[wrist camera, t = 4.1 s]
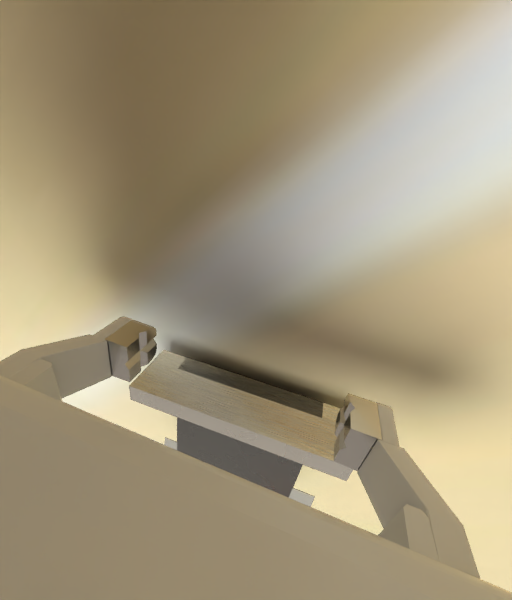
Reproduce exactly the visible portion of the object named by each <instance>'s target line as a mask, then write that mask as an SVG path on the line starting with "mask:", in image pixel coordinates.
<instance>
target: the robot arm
mask: <svg viewBox="0 0 512 600" xmlns="http://www.w3.org/2000/svg"><path fill="white" fill-rule="evenodd" d="M156 335H157V334H156V329H155V328H154V327H152V326H149V325H147V324H144V323H141V322H139V321H136V320H132V319H130V318H127V317H120V318H118V319H117V320H115V321H114V322H112V323H111V324H109V325H108V326H106V327H105V328H103V329H102V330H100V331H99V332H97V333H96V334H94V335H90V334H89V335H85V336H80V337H76V338H71V339H67V340H62V341H58V342H53V343H49V344H44V345H40V346H35V347H31V348H26V349H22V350H20V351H18V352H16V353H14V354H13V355H11V356H9V357H7V358H6V359H4V360H2V361H0V600H512V592H509V591H507V590H505V589H502V588H500V587H498V586H495V585H493V584H491V583H488V582H486V581H483V580H481V579H480V576H479V573H478V570H477V567H476V564H475V561H474V558H473V554H472V551H471V548H470V545H469V542H468V539H467V536H466V533H465V530H464V527H463V525H462V523H461V522H460V521H459V519H458V518H457V517H456V516H455V514H454V513H453V512H452V510H451V509H450V508H449V506H448V505H447V504H446V503H445V501H444V500H443V499H442V497H441V496H440V495H439V493H438V492H437V491H436V490H435V488H434V487H433V486H432V484H431V483H430V482H429V480H428V479H427V478H426V477H425V475H424V474H423V473H422V471H421V470H420V469H419V467H418V466H417V465H416V464H415V462H414V461H413V460H412V458H411V457H410V456H409V454H408V453H407V452H406V451H405V449H404V448H401V447H399V441H398V436H397V431H396V426H395V421H394V416H393V411H392V408H391V407H389V406H386V405H383V404H380V403H377V402H376V403H375V402H373V401H370V400H367V399H364V398H361V397H358V396H355V395H352V394H349V393H348V395H347V396H346V398H345V400H344V407H342V408H340V410H339V413H338V415H337V419H336V423H335V435H336V437H337V439H336V441H335V443H334V462H337V463H339V464H342V465H344V466H346V467H349V468H351V469H354V470H356V471H358V472H357V473H358V475H359V477H360V479H361V481H362V484H363V486H364V488H365V490H366V492H367V494H368V496H369V498H370V501H371V503H372V505H373V507H374V509H375V511H376V513H377V515H378V518H379V520H380V522H381V524H382V526H383V528H384V529H383V531H382V532H381V533H380V534H379V535H375V534H373V533H371V532H368V531H366V530H364V529H361V528H359V527H356V526H354V525H352V524H349V523H347V522H345V521H342V520H340V519H338V518H335V517H333V516H331V515H328V514H326V513H324V512H321V511H319V510H316V509H314V508H312V507H309V506H307V505H305V504H302V503H300V502H298V501H295V500H293V499H291V498H288V497H286V496H283V495H281V494H279V493H276V492H274V491H272V490H269V489H267V488H265V487H262V486H260V485H258V484H255V483H253V482H250V481H248V480H246V479H243V478H241V477H239V476H236V475H234V474H232V473H229V472H227V471H224V470H222V469H220V468H217V467H215V466H213V465H210V464H208V463H206V462H203V461H201V460H198V459H196V458H194V457H191V456H189V455H187V454H184V453H182V452H180V451H177V450H175V449H173V448H170V447H168V446H166V445H163V444H161V443H159V442H156V441H154V440H152V439H149V438H147V437H145V436H142V435H140V434H137V433H135V432H133V431H130V430H128V429H126V428H123V427H121V426H119V425H116V424H114V423H112V422H109V421H107V420H105V419H102V418H100V417H97V416H95V415H93V414H90V413H88V412H86V411H83V410H81V409H79V408H76V407H74V406H72V405H69V404H67V403H65V402H62V398H64V397H66V396H68V395H71V394H73V393H75V392H77V391H80V390H82V389H84V388H87V387H89V386H91V385H94V384H96V383H98V382H100V381H103V380H105V379H107V378H110V377H111V376H114V377H117V378H120V379H123V380H126V381H128V382H130V381H131V380H132V379H133V378H134V377H135V376H136V375H137V374H138V373H139V372H140V371H141V366H144V365H147V364H148V363H149V362H150V361H151V360H152V359H153V357H154V355H155V353H156V349H157V343H156V342H155V340H154V337H155V336H156Z"/></svg>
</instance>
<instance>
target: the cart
mask: <svg viewBox="0 0 512 600" xmlns="http://www.w3.org/2000/svg"><path fill="white" fill-rule="evenodd" d="M129 389H130V397H131V400H133V401H136V402H139V403H141V404H144V405H146V406H149V407H152V408H154V409H157V410H160V411H162V412H165V413H168V414H170V415H173V416H176V417H177V451H180V452H182V453H184V454H187V455H189V456H191V457H194V458H196V459H198V460H201V461H203V462H206V463H208V464H210V465H213V466H215V467H217V468H220V469H222V470H224V471H227V472H229V473H232V474H234V475H236V476H239V477H241V478H243V479H246V480H248V481H250V482H253V483H255V484H258V485H260V486H262V487H265V488H267V489H269V490H272V491H274V492H276V493H279V494H281V495H283V496H286V497H288V498H289V496H290V493H291V491H292V489H293V486H294V484H295V481H296V479H297V477H298V474H299V472H300V470H301V467H302V465H305V466H308V467H311V468H313V469H316V470H319V471H321V472H324V473H326V474H329V475H332V476H334V477H337V478H340V479H342V480H345V481H347V479H348V477H349V476H350V474H351V472H352V471H353V469H351V468H349V467H346V466H344V465H342V464H339V463H337V462H334V443H335V441H336V439H337V437H336V435H335V423H336V419H337V415H338V413H339V410H340V408H338V407H335V406H332V405H329V404H326V403H323V402H320V401H317V400H314V399H311V398H308V397H306V396H304V395H299V394H296V393H293V392H290V391H287V390H284V389H281V388H278V387H275V386H272V385H269V384H266V383H263V382H260V381H257V380H254V379H251V378H248V377H244V376H241V375H238V374H235V373H232V372H229V371H226V370H223V369H220V368H217V367H214V366H211V365H209V364H207V363H205V362H199V361H196V360H193V359H190V358H187V357H184V356H181V355H178V354H175V353H172V352H169V351H166V350H163V351H162V352H161V353H160V354H159V355H158V356H157V357H156V358H155V359H154V360H153V361H152V362H151V363H150V365H149V366H148V367H147V368H146V369H145V370H144V371H143V372H142V373H141V374H140V375H139V376H138V377H137V378H136V379H135V380H134V381H133V382H132V383H131V385H130V386H129Z"/></svg>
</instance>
